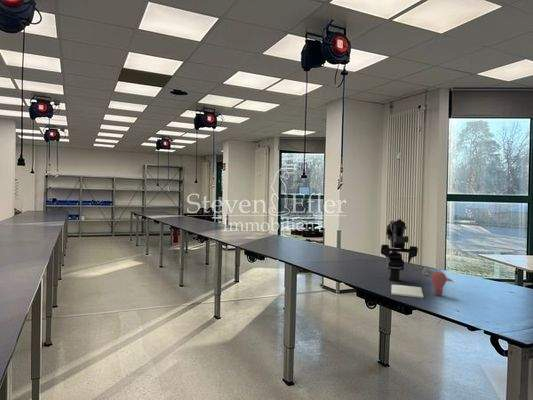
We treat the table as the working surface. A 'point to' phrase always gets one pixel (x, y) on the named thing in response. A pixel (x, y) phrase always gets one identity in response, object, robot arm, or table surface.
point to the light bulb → (438, 282)
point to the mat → (407, 291)
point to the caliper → (431, 272)
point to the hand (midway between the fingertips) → (399, 262)
